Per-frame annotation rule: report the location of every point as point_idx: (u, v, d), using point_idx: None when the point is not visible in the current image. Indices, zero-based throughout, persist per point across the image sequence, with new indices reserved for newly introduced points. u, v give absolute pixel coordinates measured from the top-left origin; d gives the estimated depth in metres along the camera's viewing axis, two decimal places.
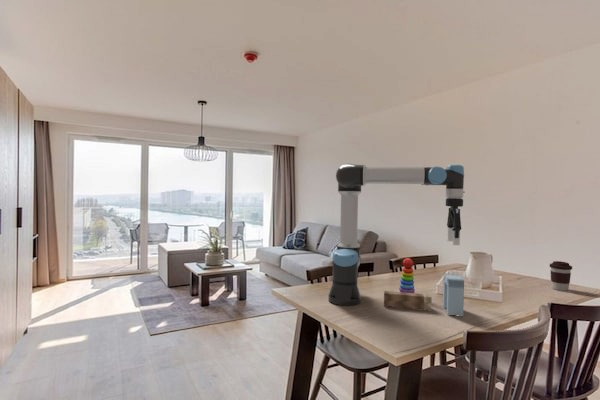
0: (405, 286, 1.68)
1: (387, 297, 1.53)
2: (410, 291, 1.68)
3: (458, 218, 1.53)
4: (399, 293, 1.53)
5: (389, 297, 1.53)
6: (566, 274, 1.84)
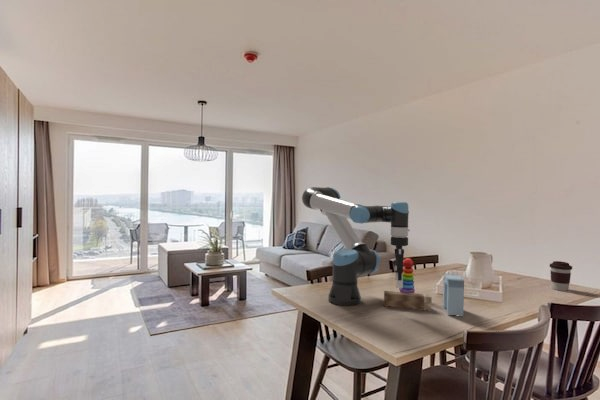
0: (405, 286, 1.68)
1: (387, 297, 1.53)
2: (410, 291, 1.68)
3: (401, 259, 1.46)
4: (399, 293, 1.53)
5: (389, 297, 1.53)
6: (566, 274, 1.84)
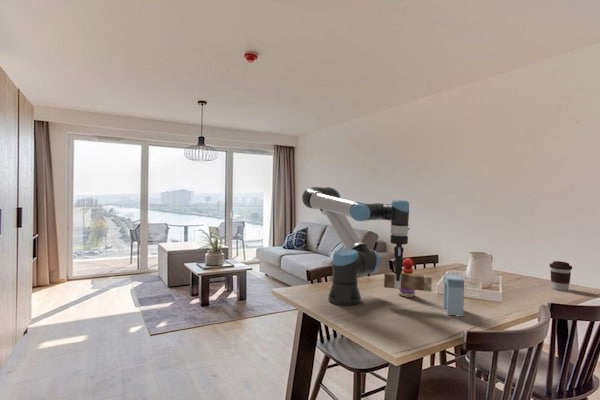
0: None
1: (387, 278, 1.53)
2: (410, 291, 1.68)
3: (399, 261, 1.48)
4: None
5: (389, 278, 1.53)
6: (566, 274, 1.84)
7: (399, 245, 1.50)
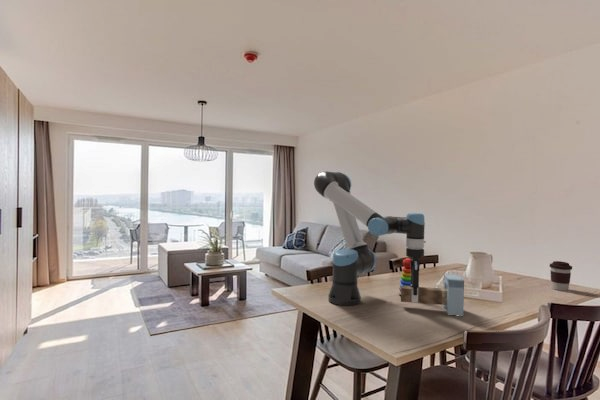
0: None
1: (404, 292, 1.51)
2: None
3: (416, 275, 1.46)
4: None
5: (406, 292, 1.51)
6: (566, 274, 1.84)
7: (415, 259, 1.48)
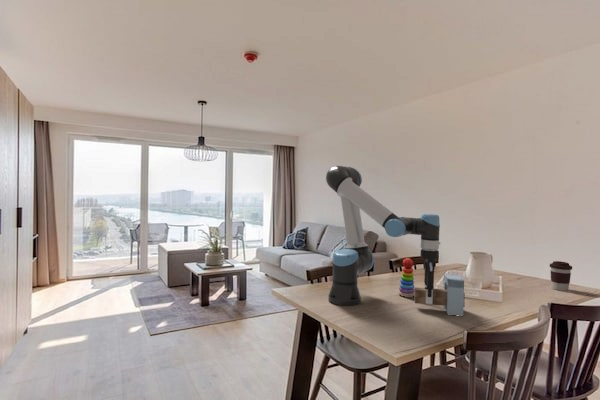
0: (405, 286, 1.68)
1: (418, 294, 1.50)
2: (410, 291, 1.68)
3: (431, 277, 1.45)
4: None
5: (420, 293, 1.50)
6: (566, 274, 1.84)
7: (430, 260, 1.47)
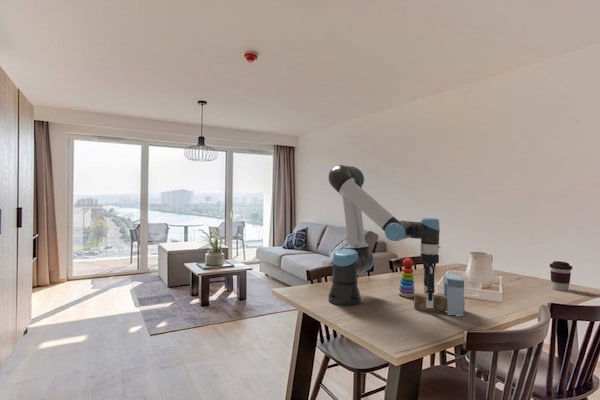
0: (405, 286, 1.68)
1: (418, 300, 1.50)
2: (410, 291, 1.68)
3: (432, 280, 1.44)
4: None
5: (420, 300, 1.50)
6: (566, 274, 1.84)
7: None
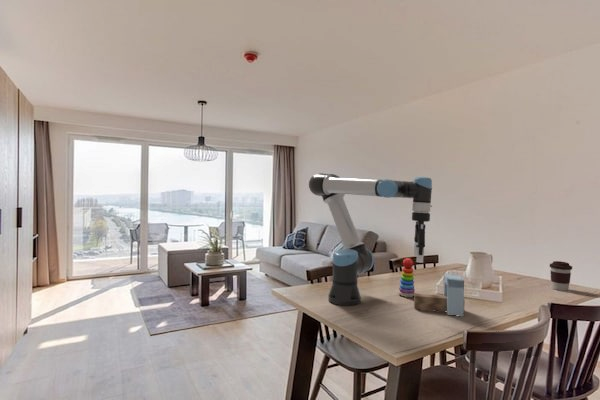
0: (405, 286, 1.68)
1: (418, 300, 1.50)
2: (410, 291, 1.68)
3: (422, 234, 1.45)
4: (430, 296, 1.50)
5: (420, 300, 1.50)
6: (566, 274, 1.84)
7: None
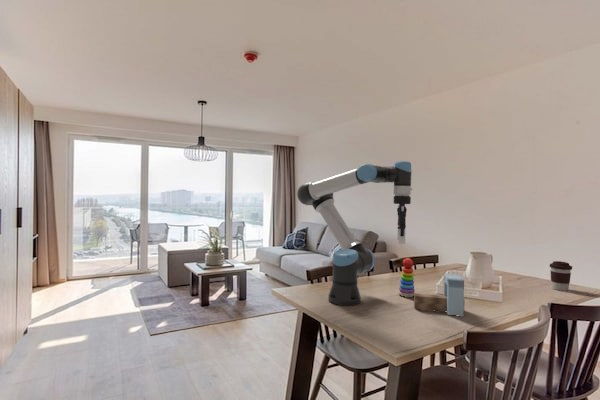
0: (405, 286, 1.68)
1: (418, 300, 1.50)
2: (410, 291, 1.68)
3: (403, 216, 1.49)
4: (430, 296, 1.50)
5: (420, 300, 1.50)
6: (566, 274, 1.84)
7: None
